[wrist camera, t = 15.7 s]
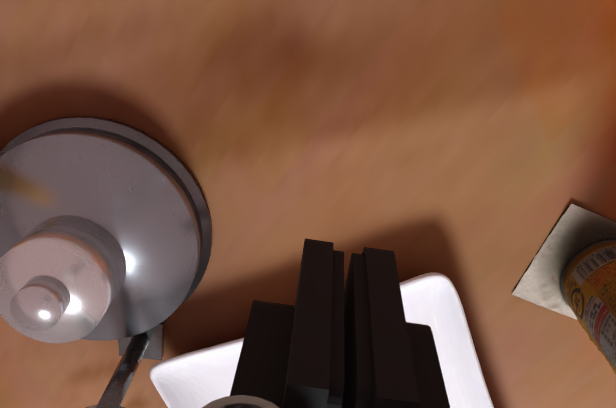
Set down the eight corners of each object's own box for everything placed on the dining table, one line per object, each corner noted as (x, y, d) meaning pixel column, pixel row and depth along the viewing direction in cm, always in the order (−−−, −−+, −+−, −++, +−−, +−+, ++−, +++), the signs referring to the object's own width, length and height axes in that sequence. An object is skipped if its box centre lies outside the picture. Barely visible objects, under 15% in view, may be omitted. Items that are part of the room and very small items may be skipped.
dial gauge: (111, 313, 40) (41, 429, 30) (174, 320, 41) (125, 438, 30) (112, 349, 42) (44, 472, 31) (173, 356, 42) (125, 480, 32)
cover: (7, 273, 37) (-45, 323, 31) (50, 195, 35) (2, 235, 29) (98, 322, 38) (63, 378, 33) (144, 250, 36) (114, 298, 31)
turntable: (-100, 227, 38) (-174, 273, 32) (-14, 45, 33) (-83, 60, 27) (137, 358, 41) (108, 420, 35) (244, 209, 37) (230, 253, 31)
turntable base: (-28, 102, 35) (-32, 103, 35) (218, 131, 35) (218, 133, 35) (-7, 312, 41) (-10, 316, 40) (206, 336, 41) (205, 339, 41)
